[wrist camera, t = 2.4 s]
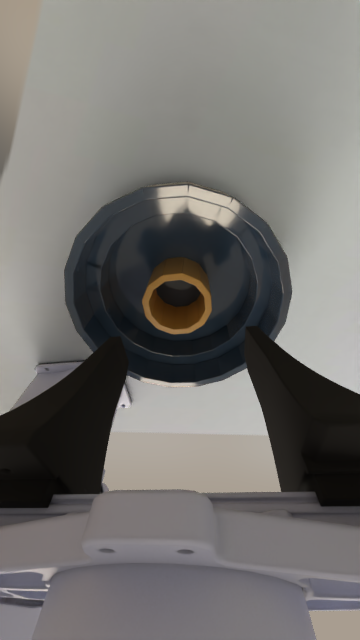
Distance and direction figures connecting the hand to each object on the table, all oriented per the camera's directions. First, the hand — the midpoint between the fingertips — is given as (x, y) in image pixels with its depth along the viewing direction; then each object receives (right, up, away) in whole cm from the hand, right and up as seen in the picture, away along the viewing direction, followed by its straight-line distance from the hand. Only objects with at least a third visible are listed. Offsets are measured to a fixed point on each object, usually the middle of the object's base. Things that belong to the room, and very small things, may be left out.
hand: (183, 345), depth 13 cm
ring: (0, +4, +6) cm, 8 cm away
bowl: (0, +5, +7) cm, 8 cm away
